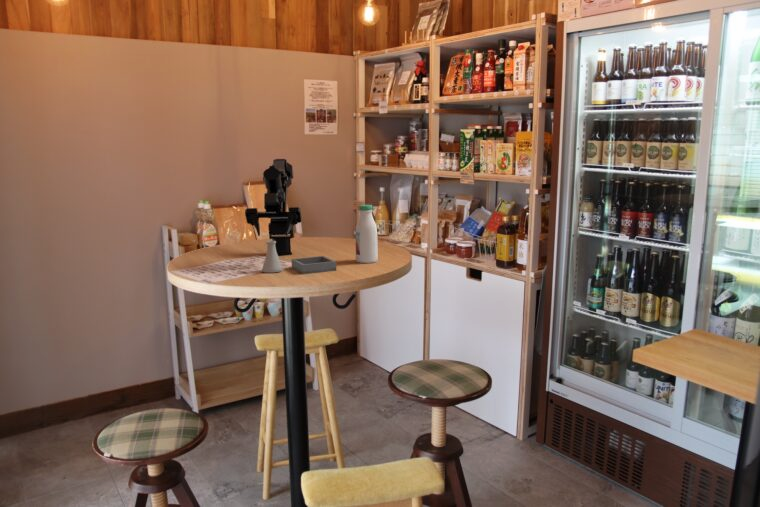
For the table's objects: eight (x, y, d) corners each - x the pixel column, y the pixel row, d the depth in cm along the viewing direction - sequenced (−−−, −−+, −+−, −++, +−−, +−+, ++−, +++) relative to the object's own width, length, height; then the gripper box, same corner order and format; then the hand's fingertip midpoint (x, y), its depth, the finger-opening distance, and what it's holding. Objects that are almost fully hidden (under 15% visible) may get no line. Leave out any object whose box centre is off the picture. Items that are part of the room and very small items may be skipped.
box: (323, 264, 212) (323, 255, 212) (336, 270, 202) (336, 261, 202) (291, 267, 207) (291, 259, 207) (302, 274, 197) (302, 264, 197)
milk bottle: (380, 259, 219) (379, 204, 215) (373, 264, 212) (372, 206, 208) (360, 258, 221) (359, 203, 218) (352, 262, 214) (351, 206, 210)
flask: (262, 269, 206) (261, 240, 204) (284, 268, 207) (283, 239, 205) (260, 273, 199) (258, 243, 197) (282, 273, 199) (281, 242, 198)
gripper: (244, 184, 207) (240, 220, 198) (299, 183, 208) (298, 219, 199) (248, 205, 216) (245, 241, 207) (301, 204, 217) (301, 239, 208)
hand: (272, 234), depth 205 cm, fingers open, 9 cm apart
